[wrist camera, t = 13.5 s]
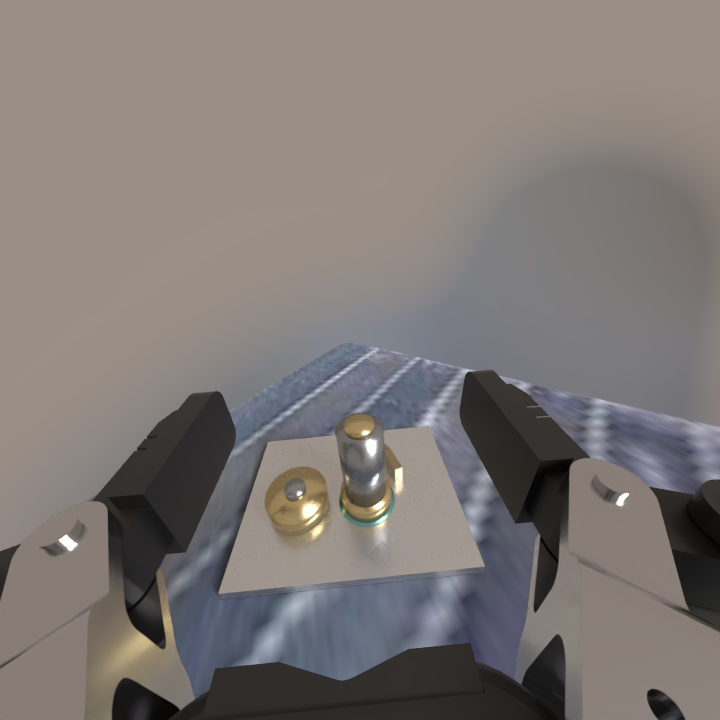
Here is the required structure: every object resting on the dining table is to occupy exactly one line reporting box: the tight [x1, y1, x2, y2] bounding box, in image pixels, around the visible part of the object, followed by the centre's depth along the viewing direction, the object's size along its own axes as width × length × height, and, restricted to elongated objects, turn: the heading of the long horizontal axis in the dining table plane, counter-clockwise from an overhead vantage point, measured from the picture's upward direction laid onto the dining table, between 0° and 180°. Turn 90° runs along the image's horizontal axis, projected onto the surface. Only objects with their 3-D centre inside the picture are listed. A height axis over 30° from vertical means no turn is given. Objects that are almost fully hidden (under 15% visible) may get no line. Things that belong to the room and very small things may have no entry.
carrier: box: [218, 426, 485, 600], centre depth 33 cm, size 25×19×4 cm
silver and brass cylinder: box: [335, 413, 392, 523], centre depth 29 cm, size 6×6×12 cm
